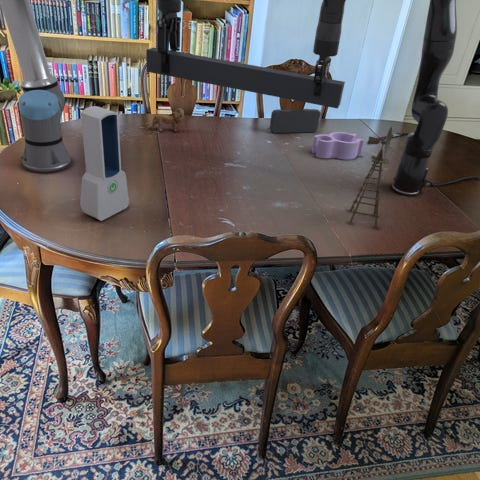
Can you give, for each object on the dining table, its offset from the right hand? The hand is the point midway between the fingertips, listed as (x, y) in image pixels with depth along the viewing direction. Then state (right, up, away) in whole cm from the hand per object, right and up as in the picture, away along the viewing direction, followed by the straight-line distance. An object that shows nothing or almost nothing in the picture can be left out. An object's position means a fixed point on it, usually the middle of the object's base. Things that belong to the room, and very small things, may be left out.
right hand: (318, 93), depth 151 cm
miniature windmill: (+13, -41, -4) cm, 43 cm away
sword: (+43, -1, +63) cm, 76 cm away
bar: (-26, +4, +8) cm, 27 cm away
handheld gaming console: (-2, +1, +58) cm, 58 cm away
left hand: (-51, +12, +13) cm, 54 cm away
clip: (+14, -12, +41) cm, 45 cm away
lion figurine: (-56, -1, +46) cm, 73 cm away
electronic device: (-65, -39, -14) cm, 77 cm away
